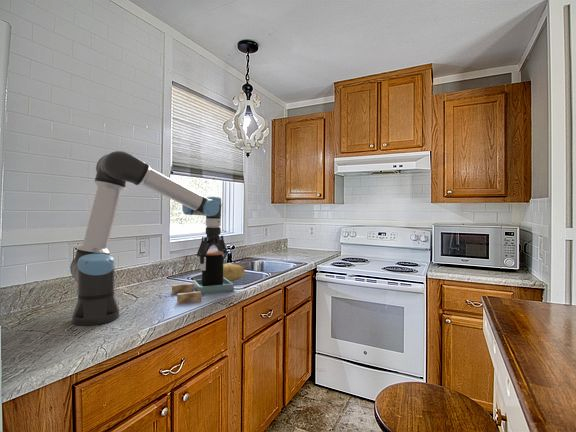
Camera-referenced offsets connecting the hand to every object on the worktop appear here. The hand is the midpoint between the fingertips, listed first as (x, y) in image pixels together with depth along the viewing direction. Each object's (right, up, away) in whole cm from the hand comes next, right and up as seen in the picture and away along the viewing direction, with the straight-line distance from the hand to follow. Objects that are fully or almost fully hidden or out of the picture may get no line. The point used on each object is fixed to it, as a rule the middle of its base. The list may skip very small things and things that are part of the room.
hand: (212, 268), depth 166 cm
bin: (0, -11, +1) cm, 11 cm away
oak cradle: (-9, -11, -15) cm, 21 cm away
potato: (+6, -11, +19) cm, 23 cm away
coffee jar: (0, -10, 0) cm, 10 cm away
